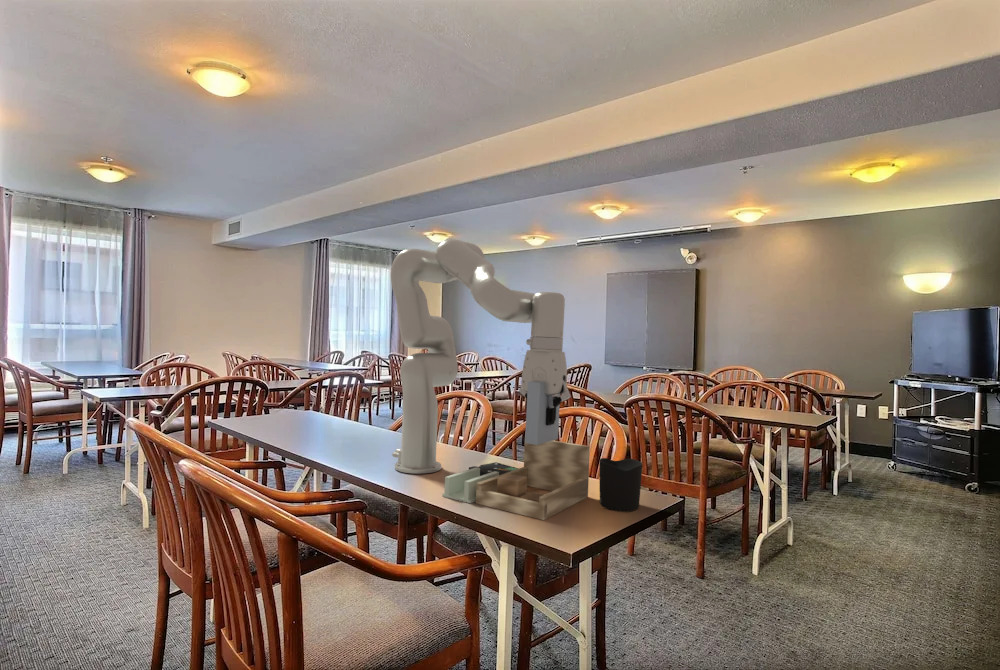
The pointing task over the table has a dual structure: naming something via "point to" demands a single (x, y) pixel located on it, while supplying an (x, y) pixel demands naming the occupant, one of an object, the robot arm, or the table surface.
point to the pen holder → (620, 484)
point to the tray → (544, 480)
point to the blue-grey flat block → (539, 416)
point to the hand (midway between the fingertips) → (542, 422)
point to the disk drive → (494, 468)
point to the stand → (465, 484)
